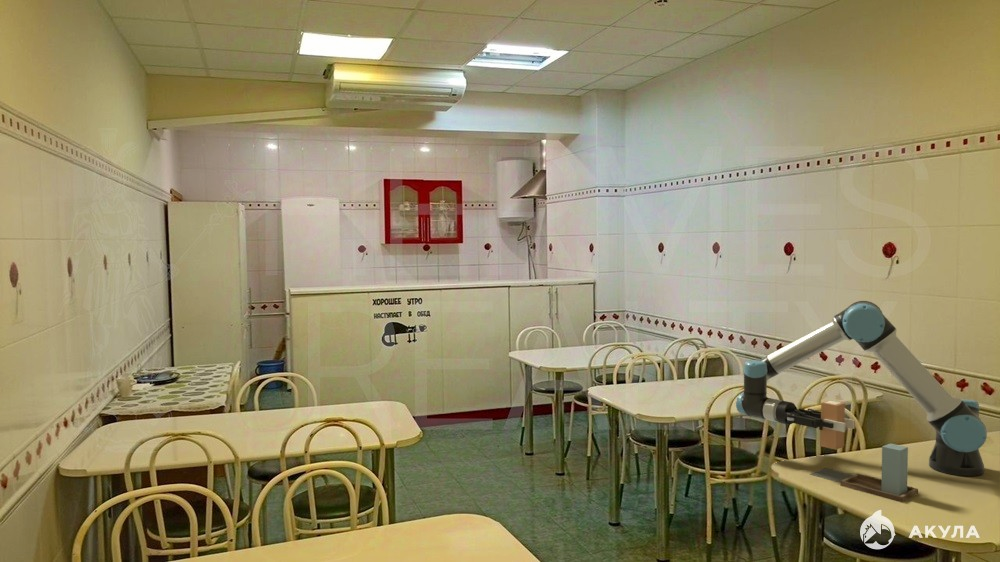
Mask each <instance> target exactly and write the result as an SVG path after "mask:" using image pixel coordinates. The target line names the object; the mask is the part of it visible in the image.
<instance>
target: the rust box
mask: <svg viewBox="0 0 1000 562" xmlns="http://www.w3.org/2000/svg"><path fill="white" fill-rule="evenodd" d="M820 403H821V404H820V411H821V419H822V420H823V421H824V419H828V420H832V421H837V422H842V423H844V422H845V418H846V417H845V416H846V409H845V408H846V403H845V402H839V401H834V400H829V399H828V400H826V401H822V402H820ZM820 447H821V448H827V449H830V450H835V451H837V450H839V449H841V448H845V432H841V431H836V430H831V429H827V428H824V427H823V430H820Z"/></svg>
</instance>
